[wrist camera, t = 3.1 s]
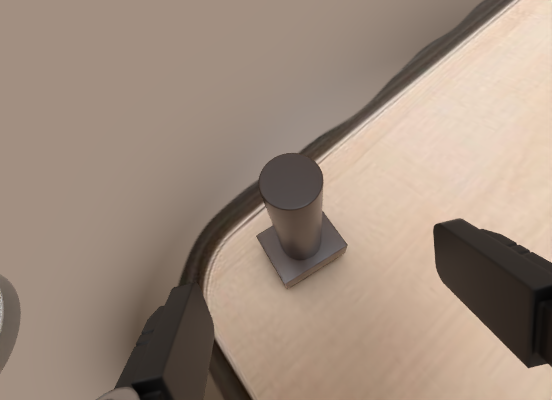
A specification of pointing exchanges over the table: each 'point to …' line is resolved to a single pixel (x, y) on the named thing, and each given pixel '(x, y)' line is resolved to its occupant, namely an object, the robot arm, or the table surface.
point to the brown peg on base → (297, 218)
